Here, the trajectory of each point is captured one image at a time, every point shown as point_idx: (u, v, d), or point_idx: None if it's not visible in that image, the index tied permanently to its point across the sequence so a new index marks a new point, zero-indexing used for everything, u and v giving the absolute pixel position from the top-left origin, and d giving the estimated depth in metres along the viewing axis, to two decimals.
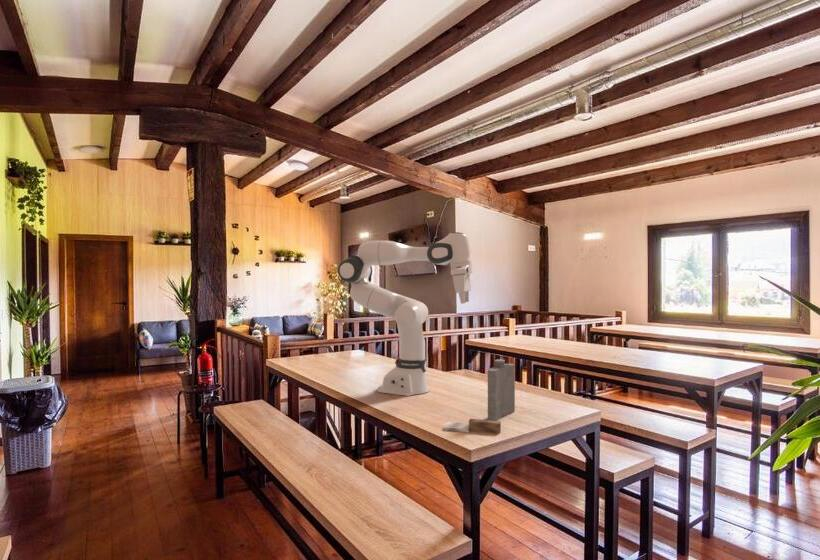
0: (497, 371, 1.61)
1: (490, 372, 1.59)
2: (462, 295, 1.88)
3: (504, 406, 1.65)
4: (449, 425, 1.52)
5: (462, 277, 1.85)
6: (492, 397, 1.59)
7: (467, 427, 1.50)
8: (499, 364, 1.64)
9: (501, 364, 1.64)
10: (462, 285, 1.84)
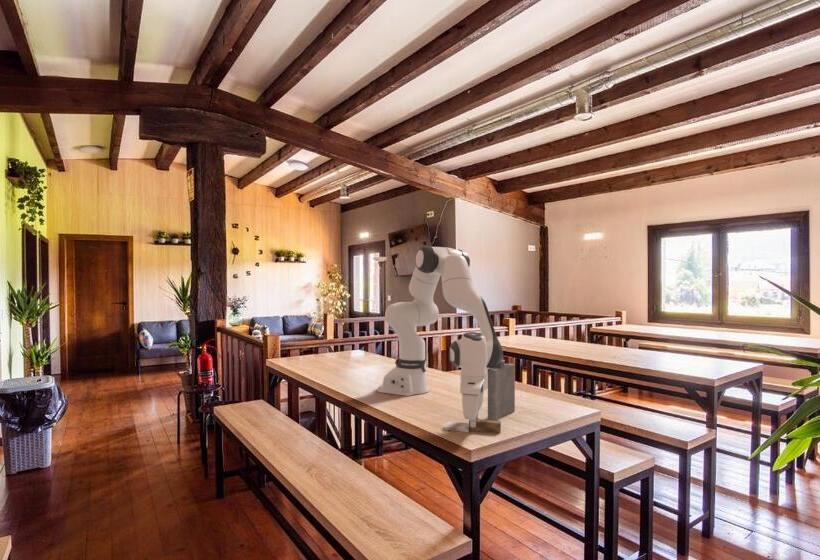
0: (497, 371, 1.61)
1: (490, 372, 1.59)
2: None
3: (504, 406, 1.65)
4: (449, 425, 1.52)
5: (474, 400, 1.41)
6: (492, 397, 1.59)
7: (467, 427, 1.50)
8: (499, 364, 1.64)
9: (501, 364, 1.64)
10: (473, 411, 1.40)
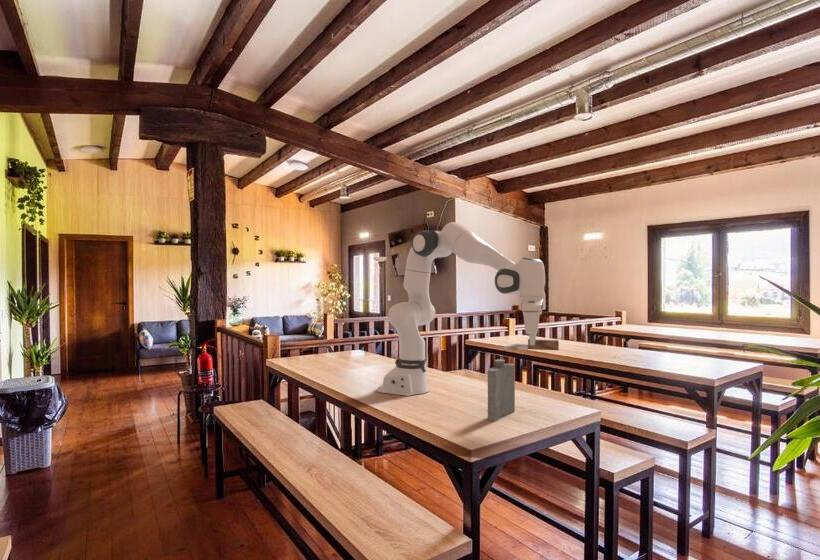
0: (497, 371, 1.61)
1: (490, 372, 1.59)
2: (533, 335, 1.55)
3: (504, 406, 1.65)
4: (508, 345, 1.60)
5: (536, 315, 1.49)
6: (492, 397, 1.59)
7: (526, 346, 1.58)
8: (499, 364, 1.64)
9: (501, 364, 1.64)
10: (535, 325, 1.49)
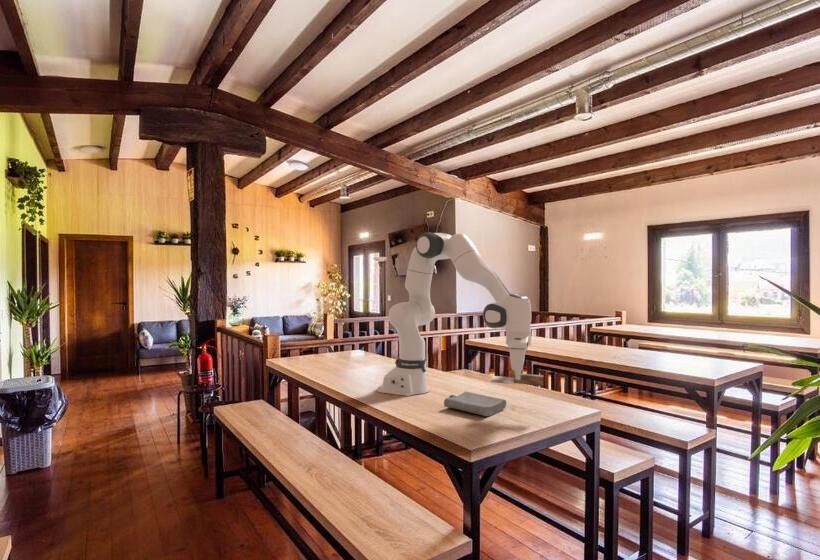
0: (449, 398, 1.74)
1: (445, 402, 1.72)
2: (518, 371, 1.60)
3: (488, 403, 1.70)
4: (495, 378, 1.66)
5: (522, 353, 1.54)
6: (464, 405, 1.67)
7: (512, 380, 1.64)
8: None
9: (452, 397, 1.79)
10: (521, 363, 1.54)
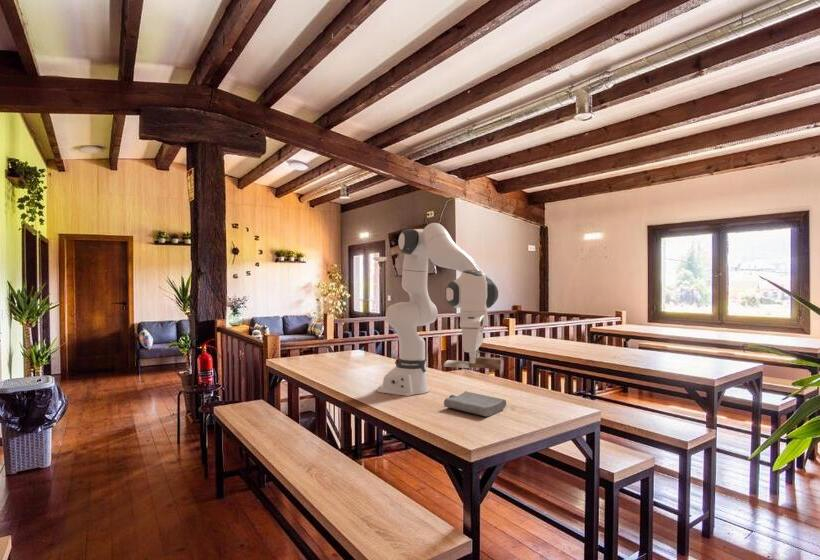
0: (449, 398, 1.74)
1: (445, 402, 1.72)
2: (473, 353, 1.47)
3: (488, 403, 1.70)
4: (449, 362, 1.52)
5: (474, 333, 1.41)
6: (464, 405, 1.67)
7: (467, 363, 1.50)
8: None
9: (452, 397, 1.79)
10: (473, 343, 1.40)
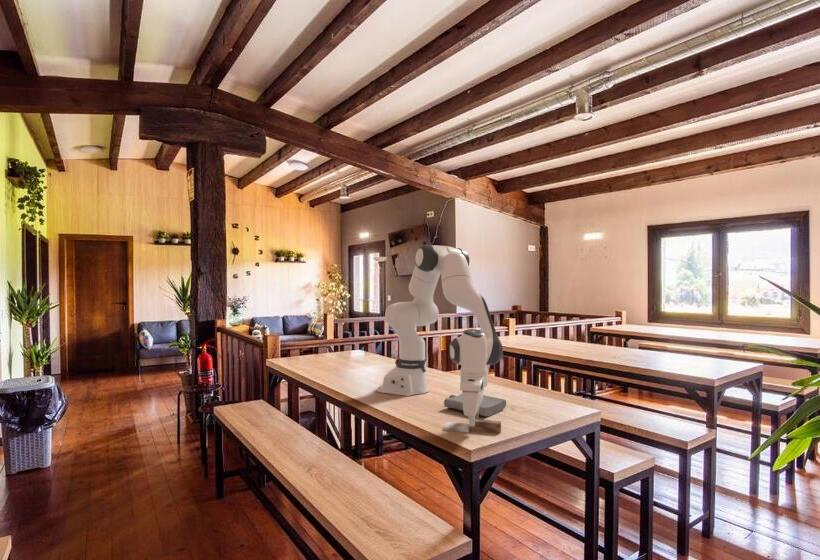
0: (449, 398, 1.74)
1: (445, 402, 1.72)
2: (472, 416, 1.45)
3: (488, 403, 1.70)
4: (449, 425, 1.52)
5: (474, 397, 1.41)
6: None
7: (467, 427, 1.50)
8: None
9: (452, 397, 1.79)
10: (473, 408, 1.40)
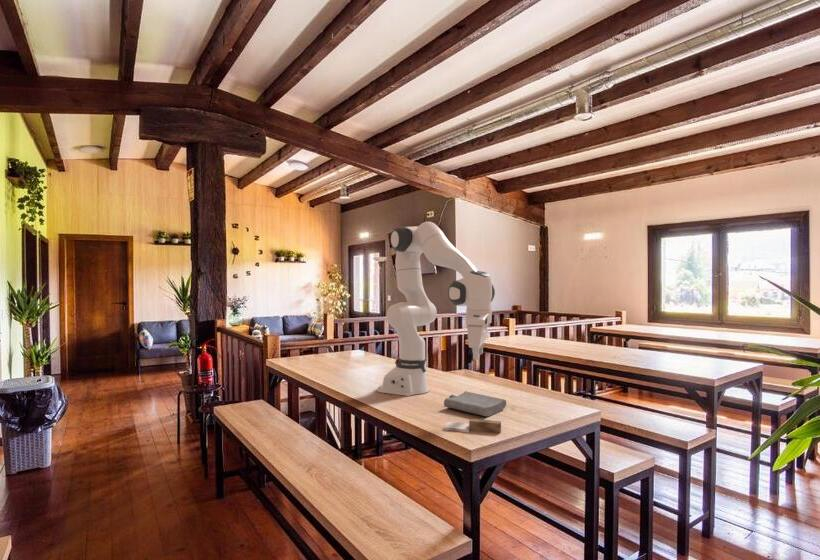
0: (449, 398, 1.74)
1: (445, 402, 1.72)
2: (476, 350, 1.55)
3: (488, 403, 1.70)
4: (449, 425, 1.52)
5: (479, 330, 1.52)
6: (464, 405, 1.67)
7: (467, 427, 1.50)
8: None
9: (452, 397, 1.79)
10: (478, 340, 1.51)
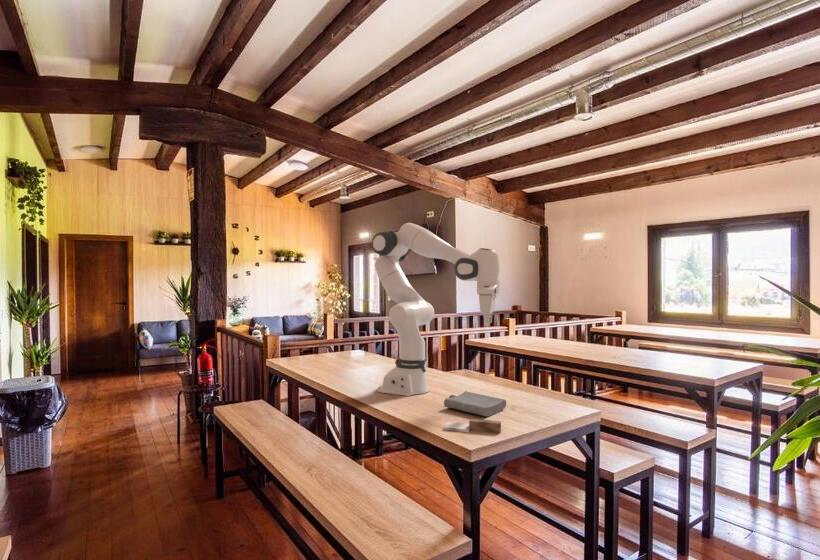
0: (449, 398, 1.74)
1: (445, 402, 1.72)
2: (487, 317, 1.75)
3: (488, 403, 1.70)
4: (449, 425, 1.52)
5: (489, 298, 1.72)
6: (464, 405, 1.67)
7: (467, 427, 1.50)
8: None
9: (452, 397, 1.79)
10: (489, 307, 1.71)
